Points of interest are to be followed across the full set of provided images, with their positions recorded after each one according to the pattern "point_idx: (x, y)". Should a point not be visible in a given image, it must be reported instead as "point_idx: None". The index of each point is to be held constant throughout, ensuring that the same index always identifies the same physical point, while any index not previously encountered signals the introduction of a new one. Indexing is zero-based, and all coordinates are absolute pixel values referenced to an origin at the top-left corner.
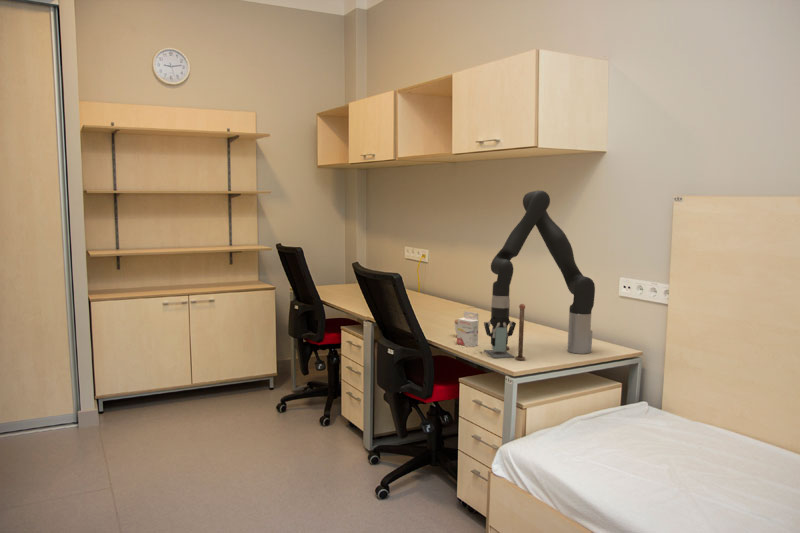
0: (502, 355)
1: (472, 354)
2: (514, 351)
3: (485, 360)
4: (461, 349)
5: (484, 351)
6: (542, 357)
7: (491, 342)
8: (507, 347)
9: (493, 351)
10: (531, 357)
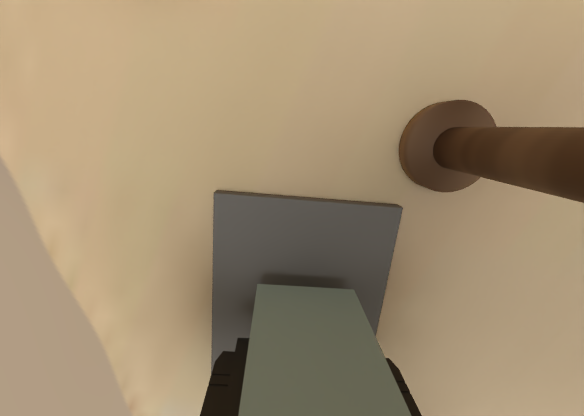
0: None
1: (85, 263)
2: (471, 237)
3: (143, 412)
4: (6, 65)
5: (215, 205)
6: (539, 402)
7: (217, 377)
8: (464, 177)
9: (279, 255)
10: (475, 393)
